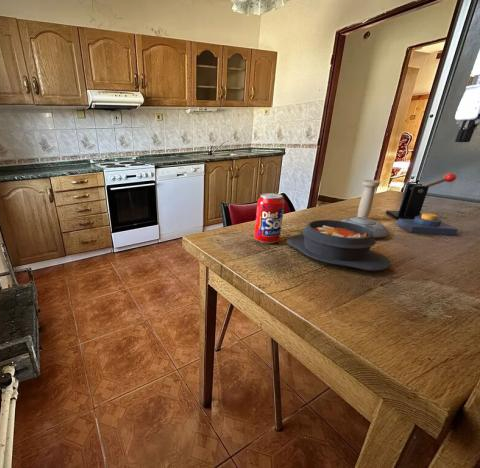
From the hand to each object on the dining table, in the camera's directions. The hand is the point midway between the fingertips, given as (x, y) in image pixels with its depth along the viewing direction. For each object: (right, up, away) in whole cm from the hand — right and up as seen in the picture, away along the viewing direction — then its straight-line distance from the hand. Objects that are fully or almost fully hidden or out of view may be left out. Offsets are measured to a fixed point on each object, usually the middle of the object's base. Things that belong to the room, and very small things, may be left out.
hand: (462, 141), depth 89 cm
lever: (-3, -15, +7) cm, 16 cm away
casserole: (-57, -39, -17) cm, 71 cm away
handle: (-27, -27, +11) cm, 39 cm away
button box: (-14, -31, 0) cm, 34 cm away
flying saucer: (-37, -32, -1) cm, 49 cm away
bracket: (-7, -26, +12) cm, 29 cm away
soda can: (-71, -35, -5) cm, 79 cm away
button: (-14, -27, -2) cm, 31 cm away
